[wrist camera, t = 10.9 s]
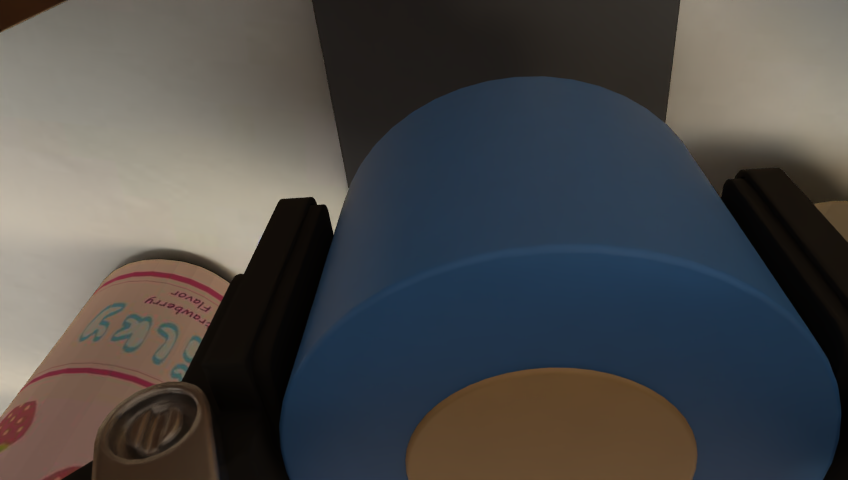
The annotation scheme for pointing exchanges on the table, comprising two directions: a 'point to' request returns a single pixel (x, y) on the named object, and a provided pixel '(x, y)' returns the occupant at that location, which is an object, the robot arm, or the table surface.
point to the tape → (549, 309)
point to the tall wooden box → (22, 10)
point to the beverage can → (107, 363)
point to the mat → (483, 53)
